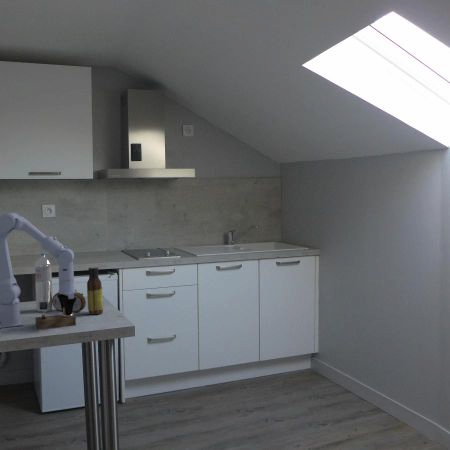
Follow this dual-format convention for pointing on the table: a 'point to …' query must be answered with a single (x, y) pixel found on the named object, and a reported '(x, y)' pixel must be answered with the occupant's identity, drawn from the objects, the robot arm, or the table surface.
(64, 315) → the copper plunger
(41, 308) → the chrome threaded knob
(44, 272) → the water bottle
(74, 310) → the tin
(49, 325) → the stand
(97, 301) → the sauce bottle
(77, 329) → the table surface
